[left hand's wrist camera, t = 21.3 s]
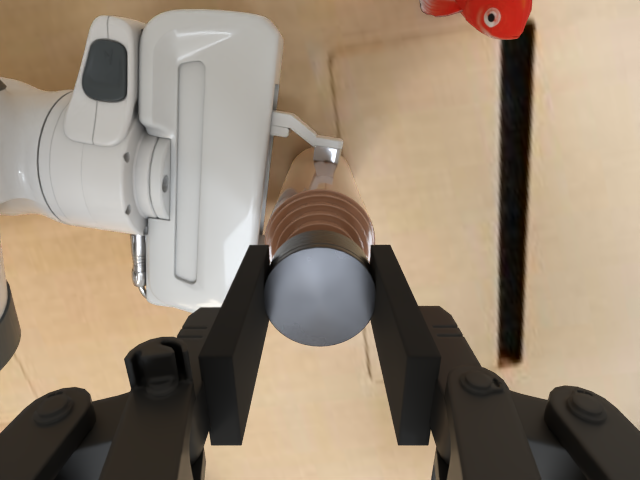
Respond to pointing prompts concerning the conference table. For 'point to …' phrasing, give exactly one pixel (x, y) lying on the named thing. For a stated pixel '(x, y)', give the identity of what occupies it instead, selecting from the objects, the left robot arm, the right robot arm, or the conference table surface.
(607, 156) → the conference table surface
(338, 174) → the bottle
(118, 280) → the conference table surface
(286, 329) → the cap
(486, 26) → the fish
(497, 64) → the conference table surface
